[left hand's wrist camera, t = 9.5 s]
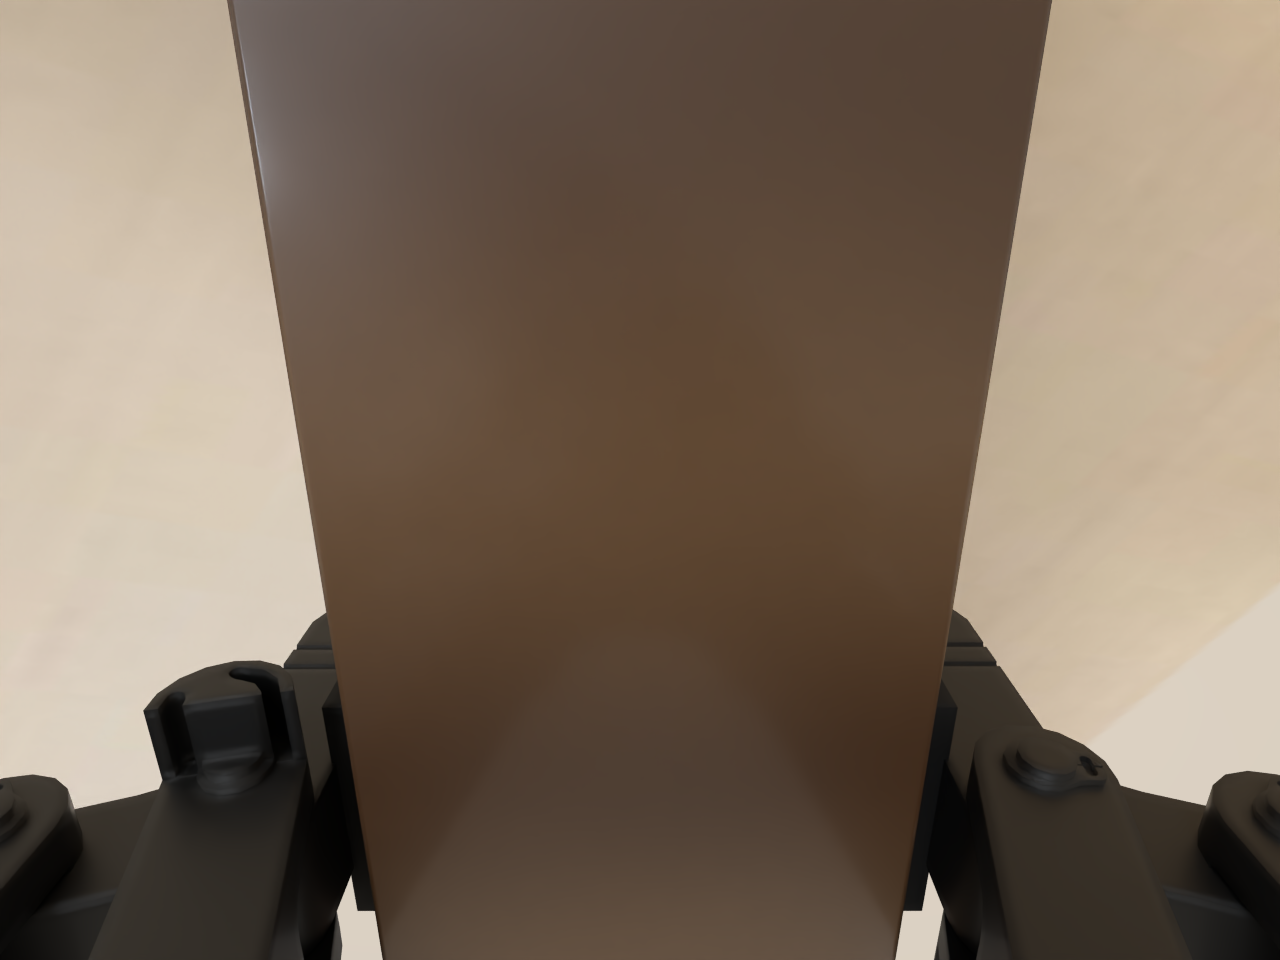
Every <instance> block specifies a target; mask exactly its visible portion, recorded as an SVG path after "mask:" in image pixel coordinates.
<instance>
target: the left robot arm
mask: <svg viewBox="0 0 1280 960" xmlns="http://www.w3.org/2000/svg"><path fill="white" fill-rule="evenodd" d="M143 711H144V715H145V719H146V722H147V726H148V729H149V733H150V737H151V740H152V744H153V748H154V751H155V755H156V758H157V762H158V766H159V769H160V773H161V776H162V780H163V781H162V783H161V785H160V788H159V789H158V790H155V791H151V792H148V793H144V794H141V795H137V796H133V797H128V798H124V799H119V800H114V801H110V802H105V803H101V804H96V805H92V806H87V807H83V808H78V809H74V806H73V803H72V800H71V797H70V794H69V791H68V789H67V788H66V787H65V786H64V785H63V784H61V783H60V782H59V781H58V780H57V779H56V778H51V777H45V776H39V775H25V776H17V777H9V778H3V779H0V960H341V953H342V940H341V933H340V926H339V921H338V916H337V909H338V907H339V904H340V902H341V899H342V897H343V894H344V892H345V889H346V886H347V884H348V881H349V879H350V876H352V882H353V888H354V893H355V899H356V905H357V910H358V911H375V908H374V902H373V896H372V890H371V884H370V878H369V871H368V865H367V859H366V853H365V847H364V841H363V834H362V828H361V822H360V816H359V810H358V804H357V797H356V791H355V785H354V779H353V773H352V767H351V760H350V754H349V748H348V742H347V736H346V730H345V723H344V717H343V711H342V705H341V699H340V693H339V686H338V680H337V674H336V668H335V662H334V656H333V649H332V643H331V637H330V631H329V625H328V619H327V613H325V614H324V615H322V616H321V617H319V618H318V619H317V620H315V621H314V622H313V623H312V624H311V625H310V627H309V628H308V630H307V631H306V633H305V634H304V636H303V637H302V638H301V640H300V641H299V643H298V644H297V650H293V652H292V653H291V654H290V656H289V657H288V659H287V660H286V662H285V663H284V668H282V667H281V666H279V665H275V664H271V663H267V662H263V661H233V662H229V663H224V664H220V665H215V666H211V667H206V668H204V669H201V670H199V671H197V672H194V673H192V674H189V675H187V676H185V677H182V678H180V679H178V680H177V681H175V682H174V683H172V684H171V685H169V686H168V687H166V688H165V689H163V690H162V691H160V692H159V693H158V694H157V695H156V696H155V697H154V698H153V699H152V701H151V702H150V703H149V704H148V706H147V707H146V708H145V709H144V710H143ZM928 873H930V876H931V878H932V881H933V883H934V886H935V888H936V891H937V894H938V896H939V899H940V901H941V904H942V906H943V908H944V910H943V916H942V921H941V926H940V931H939V937H938V942H937V947H936V953H935V958H934V960H1280V775H1276V774H1268V773H1260V772H1252V771H1244V772H1238V773H1232V774H1226V775H1224V776H1223V777H1222V778H1221V779H1220V780H1218V781H1217V782H1216V783H1215V784H1214V785H1213V786H1212V789H1211V792H1210V795H1209V799H1208V801H1207V804H1206V806H1204V805H1200V804H1195V803H1191V802H1186V801H1181V800H1177V799H1172V798H1168V797H1163V796H1158V795H1154V794H1150V793H1145V792H1141V791H1138V790H1134V789H1131V788H1127V787H1124V786H1120V784H1119V782H1118V779H1117V778H1116V776H1115V775H1114V774H1113V772H1112V771H1111V769H1110V768H1109V766H1108V765H1107V764H1106V762H1105V761H1104V760H1103V759H1101V758H1100V757H1099V756H1098V755H1096V754H1095V753H1094V752H1092V751H1091V750H1090V749H1089V748H1087V747H1086V746H1085V745H1083V744H1081V743H1079V742H1077V741H1075V740H1073V739H1071V738H1068V737H1066V736H1064V735H1062V734H1060V733H1058V732H1054V731H1050V730H1046V729H1043V728H1042V726H1041V725H1040V723H1039V722H1038V721H1037V719H1036V718H1035V716H1034V715H1033V713H1032V712H1031V710H1030V709H1029V708H1028V706H1027V705H1026V703H1025V702H1024V700H1023V699H1022V698H1021V696H1020V695H1019V693H1018V692H1017V690H1016V689H1015V687H1014V686H1013V685H1012V683H1011V682H1010V680H1009V679H1008V677H1007V676H1006V674H1005V673H1004V672H1003V670H1002V669H1001V667H1000V666H997V665H996V660H995V659H994V657H993V656H992V654H991V653H990V651H989V650H988V649H987V647H983V641H982V640H981V639H980V637H979V636H978V634H977V633H976V631H975V630H974V628H973V627H972V626H971V624H970V623H969V621H968V620H967V619H966V618H964V617H963V616H962V615H960V614H959V613H957V612H956V611H954V610H953V609H952V615H951V621H950V627H949V634H948V640H947V646H946V652H945V658H944V664H943V670H942V676H941V683H940V689H939V695H938V701H937V707H936V713H935V719H934V725H933V732H932V738H931V744H930V750H929V756H928V762H927V768H926V774H925V781H924V787H923V793H922V799H921V805H920V811H919V817H918V823H917V830H916V836H915V842H914V848H913V854H912V860H911V866H910V872H909V879H908V885H907V891H906V897H905V903H904V909H903V911H922V907H923V902H924V896H925V890H926V885H927V879H928Z"/></svg>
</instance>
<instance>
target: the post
mask: <svg viewBox="0 0 1280 960" xmlns="http://www.w3.org/2000/svg"><path fill="white" fill-rule="evenodd" d="M227 2H228V8H229V15H230V21H231V27H232V33H233V39H234V45H235V51H236V58H237V64H238V70H239V76H240V82H241V88H242V95H243V101H244V107H245V113H246V119H247V125H248V132H249V138H250V144H251V150H252V156H253V162H254V169H255V175H256V181H257V187H258V193H259V199H260V206H261V212H262V218H263V224H264V230H265V236H266V243H267V249H268V255H269V261H270V267H271V273H272V280H273V286H274V292H275V298H276V304H277V310H278V317H279V323H280V329H281V335H282V341H283V347H284V354H285V360H286V366H287V372H288V378H289V384H290V391H291V397H292V403H293V409H294V415H295V421H296V428H297V434H298V440H299V446H300V452H301V458H302V465H303V471H304V477H305V483H306V489H307V495H308V501H309V508H310V514H311V520H312V526H313V532H314V538H315V545H316V551H317V557H318V563H319V569H320V575H321V582H322V588H323V594H324V600H325V606H326V612H327V619H328V625H329V631H330V637H331V643H332V649H333V656H334V662H335V668H336V674H337V680H338V686H339V693H340V699H341V705H342V711H343V717H344V723H345V730H346V736H347V742H348V748H349V754H350V760H351V767H352V773H353V779H354V785H355V791H356V797H357V804H358V810H359V816H360V822H361V828H362V834H363V841H364V847H365V853H366V859H367V865H368V871H369V878H370V884H371V890H372V896H373V902H374V908H375V915H376V921H377V927H378V933H379V939H380V945H381V952H382V958H383V960H895V958H896V952H897V946H898V940H899V934H900V928H901V921H902V915H903V909H904V903H905V897H906V891H907V885H908V879H909V872H910V866H911V860H912V854H913V848H914V842H915V836H916V830H917V823H918V817H919V811H920V805H921V799H922V793H923V787H924V781H925V774H926V768H927V762H928V756H929V750H930V744H931V738H932V732H933V725H934V719H935V713H936V707H937V701H938V695H939V689H940V683H941V676H942V670H943V664H944V658H945V652H946V646H947V640H948V634H949V627H950V621H951V615H952V609H953V603H954V597H955V591H956V585H957V579H958V572H959V566H960V560H961V554H962V548H963V542H964V536H965V530H966V523H967V517H968V511H969V505H970V499H971V493H972V487H973V481H974V474H975V468H976V462H977V456H978V450H979V444H980V438H981V432H982V425H983V419H984V413H985V407H986V401H987V395H988V389H989V383H990V376H991V370H992V364H993V358H994V352H995V346H996V340H997V334H998V327H999V321H1000V315H1001V309H1002V303H1003V297H1004V291H1005V285H1006V278H1007V272H1008V266H1009V260H1010V254H1011V248H1012V242H1013V236H1014V230H1015V223H1016V217H1017V211H1018V205H1019V199H1020V193H1021V187H1022V181H1023V174H1024V168H1025V162H1026V156H1027V150H1028V144H1029V138H1030V132H1031V125H1032V119H1033V113H1034V107H1035V101H1036V95H1037V89H1038V83H1039V76H1040V70H1041V64H1042V58H1043V52H1044V46H1045V40H1046V34H1047V27H1048V21H1049V15H1050V9H1051V3H1052V0H227Z"/></svg>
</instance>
